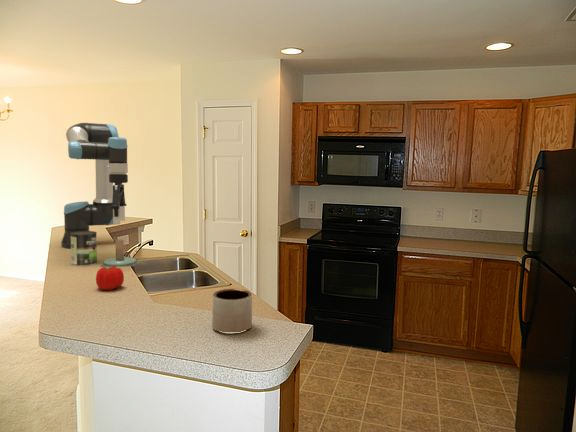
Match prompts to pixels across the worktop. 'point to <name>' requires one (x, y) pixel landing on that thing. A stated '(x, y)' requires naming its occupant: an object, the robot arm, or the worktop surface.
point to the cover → (119, 256)
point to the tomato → (109, 278)
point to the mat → (117, 266)
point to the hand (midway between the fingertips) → (119, 222)
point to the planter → (232, 310)
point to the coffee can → (83, 248)
